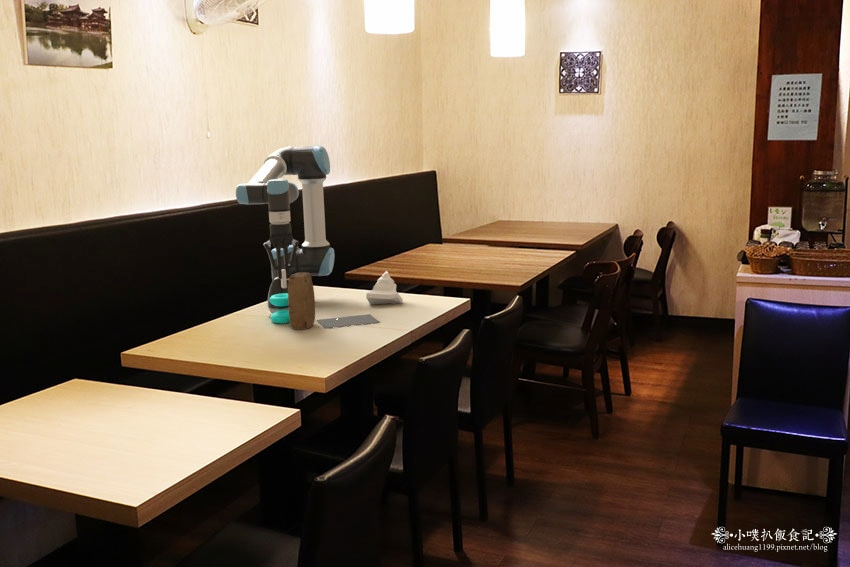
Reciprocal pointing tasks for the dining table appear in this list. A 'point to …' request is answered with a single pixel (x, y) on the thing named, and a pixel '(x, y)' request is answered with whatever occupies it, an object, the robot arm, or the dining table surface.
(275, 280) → the dark grey tapered piece
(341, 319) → the mat
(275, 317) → the donuts
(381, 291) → the soft serve ice cream
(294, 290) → the block
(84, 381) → the dining table surface
